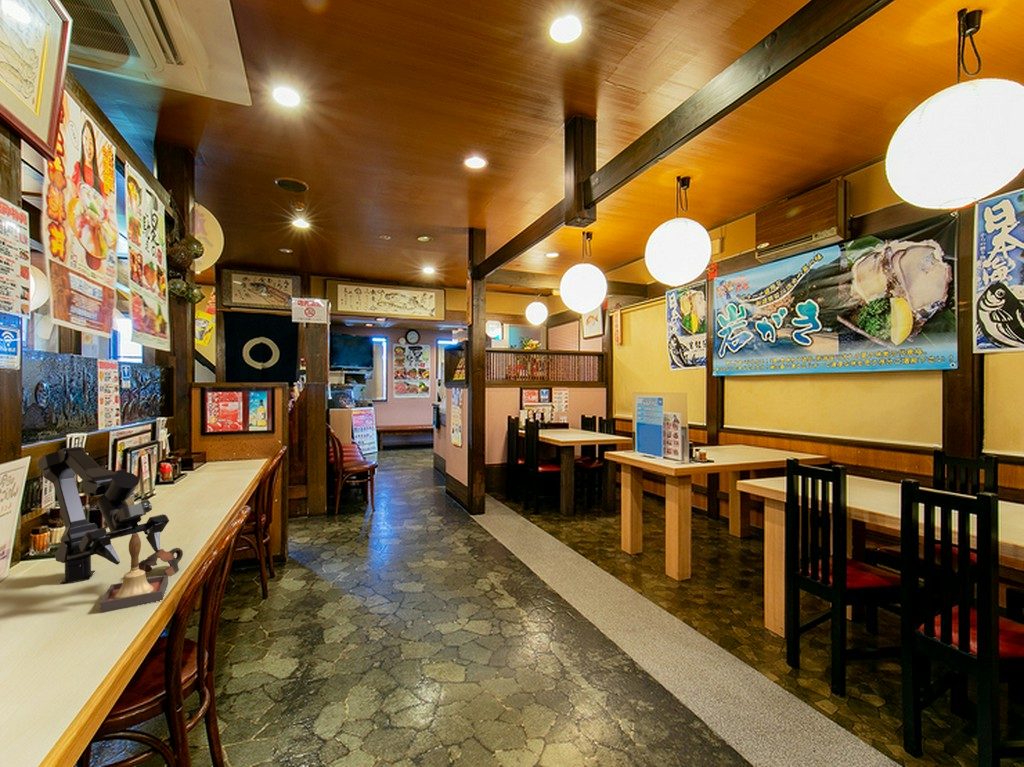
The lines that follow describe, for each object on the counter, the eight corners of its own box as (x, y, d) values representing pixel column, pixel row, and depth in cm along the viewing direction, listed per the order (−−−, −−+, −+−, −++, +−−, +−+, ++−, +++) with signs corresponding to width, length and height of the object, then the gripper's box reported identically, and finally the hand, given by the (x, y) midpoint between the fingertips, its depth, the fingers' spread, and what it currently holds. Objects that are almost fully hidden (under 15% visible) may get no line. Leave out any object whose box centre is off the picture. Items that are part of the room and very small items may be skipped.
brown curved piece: (162, 583, 136) (145, 560, 135) (142, 593, 138) (125, 570, 137) (196, 557, 147) (181, 536, 146) (177, 567, 150) (162, 546, 149)
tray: (111, 593, 128) (110, 584, 128) (168, 583, 134) (168, 574, 134) (99, 613, 117) (99, 603, 117) (162, 600, 123) (162, 591, 123)
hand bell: (160, 585, 130) (160, 528, 130) (142, 599, 122) (142, 537, 122) (126, 587, 128) (126, 529, 128) (106, 601, 120) (105, 539, 120)
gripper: (84, 500, 119) (108, 550, 114) (165, 486, 136) (188, 528, 131) (69, 527, 122) (91, 577, 117) (149, 510, 139) (172, 552, 134)
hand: (139, 557), depth 125 cm, fingers open, 9 cm apart
